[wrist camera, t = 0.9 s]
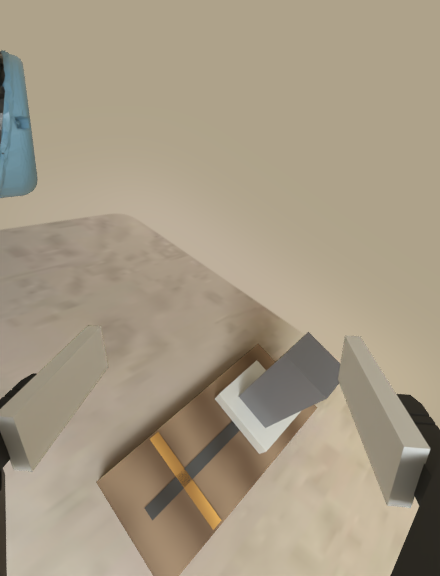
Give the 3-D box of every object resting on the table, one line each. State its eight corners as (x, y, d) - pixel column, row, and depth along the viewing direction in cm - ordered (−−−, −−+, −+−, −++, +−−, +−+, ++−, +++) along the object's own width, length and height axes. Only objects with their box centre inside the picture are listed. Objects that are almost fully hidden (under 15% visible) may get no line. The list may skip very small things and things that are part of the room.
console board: (162, 586, 26) (164, 593, 24) (98, 482, 28) (96, 482, 27) (309, 411, 37) (317, 407, 35) (253, 349, 40) (258, 343, 38)
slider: (259, 454, 31) (331, 432, 20) (214, 398, 33) (257, 350, 22) (293, 414, 34) (373, 375, 23) (251, 366, 36) (305, 308, 25)
